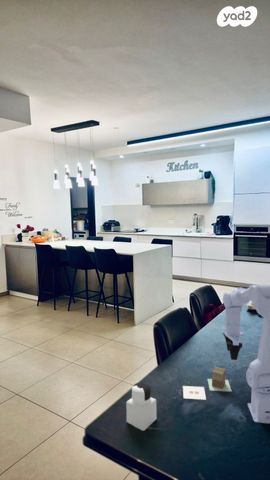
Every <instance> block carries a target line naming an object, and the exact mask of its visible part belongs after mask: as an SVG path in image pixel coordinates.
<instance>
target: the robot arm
mask: <svg viewBox="0 0 270 480" xmlns="http://www.w3.org/2000/svg"><path fill="white" fill-rule="evenodd" d="M236 288H237V290H232V292H225V293H224V294H223V295H222V302H223V303H222V304H223V306H224V308H225V314H224V317H225V318H224V321H225V323H224V332H223V333H222V335H223V336H224V339H225V343H226V344H225V345H226V349H227V352H229V354H230V359H231V361H233V360H234V361H237V360H238V357H239V353H240V350H242V348H243V343H242V342H240V341H239V340H240V337H242V336H244V332H241V312H242V311H243V306H244V305H246V304H248V303H250V302H251V303H252V305H253V307H254V309H255V310H256V312H257V314H259V315H261V316H263V321H262V327H261V333H260V339H259V345H258V351H257V357H256V358H255V359H254V360H253V361H251V362H250V363H249V366H248V368H247V370H246V372H245V378H246V383H247V384H248V386H249V388H251V396H250V397H251V398H250V399H251V400H250V401H251V402H248V403H247V407H248V410H249V412H250V414H251V417H252V420H253V421H254V423H261V424H270V284H252V285H249V287H247V288H243V287H236Z"/></svg>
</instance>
